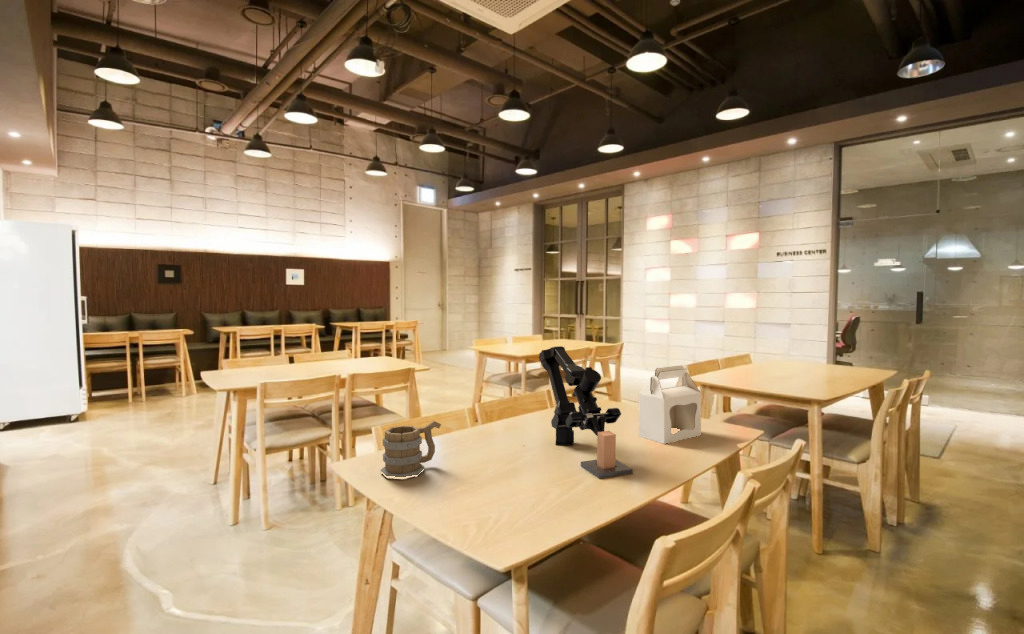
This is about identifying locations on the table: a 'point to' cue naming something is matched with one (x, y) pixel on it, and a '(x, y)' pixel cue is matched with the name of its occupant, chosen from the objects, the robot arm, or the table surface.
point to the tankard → (407, 449)
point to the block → (606, 449)
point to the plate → (605, 473)
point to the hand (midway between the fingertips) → (602, 439)
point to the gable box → (669, 407)
